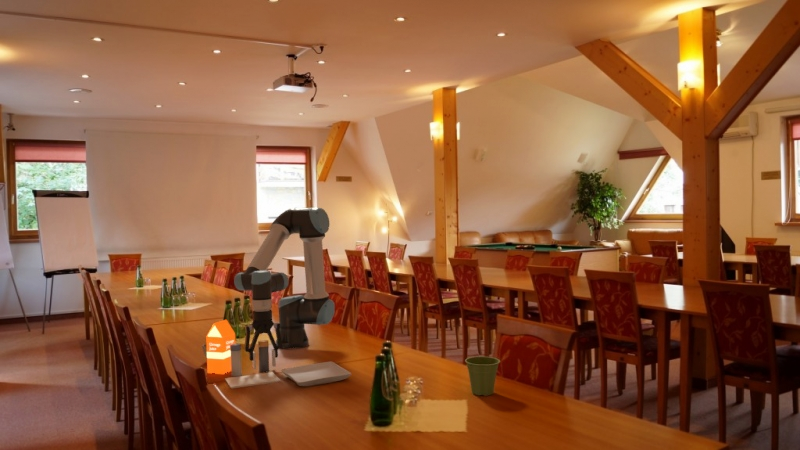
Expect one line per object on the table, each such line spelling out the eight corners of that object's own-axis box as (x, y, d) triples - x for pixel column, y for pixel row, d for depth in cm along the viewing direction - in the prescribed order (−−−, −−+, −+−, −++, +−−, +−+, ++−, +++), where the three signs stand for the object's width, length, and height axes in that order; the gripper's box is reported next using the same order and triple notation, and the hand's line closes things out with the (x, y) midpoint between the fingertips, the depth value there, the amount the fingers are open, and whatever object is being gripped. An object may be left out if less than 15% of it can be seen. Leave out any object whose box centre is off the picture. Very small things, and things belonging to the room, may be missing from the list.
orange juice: (236, 368, 254) (235, 319, 253) (223, 374, 245) (222, 323, 245) (220, 367, 256) (218, 319, 256) (206, 373, 248) (205, 323, 247)
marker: (268, 369, 251) (267, 339, 251) (270, 371, 248) (269, 341, 247) (258, 370, 250) (257, 340, 249) (260, 372, 246) (259, 342, 246)
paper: (272, 373, 245) (272, 372, 245) (280, 381, 233) (280, 380, 233) (225, 379, 237) (225, 378, 237) (230, 388, 225) (230, 387, 225)
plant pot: (492, 400, 205) (491, 366, 204) (459, 395, 211) (458, 362, 210) (506, 391, 215) (505, 358, 214) (474, 386, 221) (474, 354, 221)
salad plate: (297, 391, 222) (297, 381, 222) (280, 377, 240) (280, 368, 240) (352, 382, 231) (352, 372, 231) (331, 369, 250) (331, 360, 250)
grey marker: (240, 373, 246) (239, 343, 246) (242, 375, 242) (241, 345, 242) (230, 374, 244) (229, 344, 244) (232, 377, 241) (231, 346, 240)
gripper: (238, 313, 241) (240, 372, 241) (289, 308, 249) (291, 366, 250) (234, 310, 247) (236, 368, 248) (284, 306, 256) (286, 361, 256)
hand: (264, 367), depth 249 cm, fingers open, 7 cm apart
